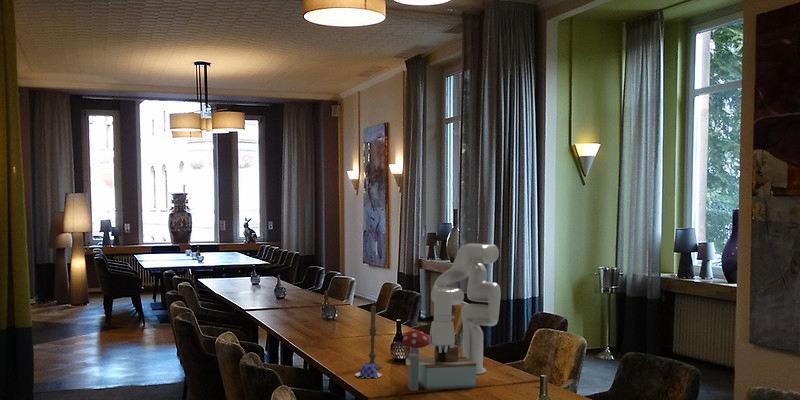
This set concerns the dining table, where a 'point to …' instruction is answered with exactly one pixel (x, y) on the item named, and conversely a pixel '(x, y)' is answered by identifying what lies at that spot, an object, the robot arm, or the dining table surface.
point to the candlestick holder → (372, 334)
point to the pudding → (368, 371)
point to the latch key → (422, 361)
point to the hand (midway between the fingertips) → (441, 361)
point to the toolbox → (439, 376)
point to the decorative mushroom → (415, 340)
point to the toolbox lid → (451, 360)
